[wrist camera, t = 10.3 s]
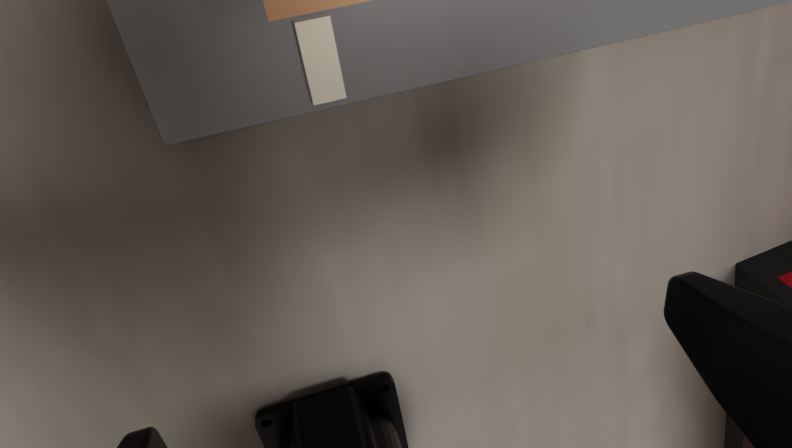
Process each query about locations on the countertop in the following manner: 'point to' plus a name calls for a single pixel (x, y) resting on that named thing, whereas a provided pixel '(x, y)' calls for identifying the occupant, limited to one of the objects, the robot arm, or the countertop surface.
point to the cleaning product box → (770, 278)
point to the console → (358, 49)
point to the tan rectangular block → (301, 7)
